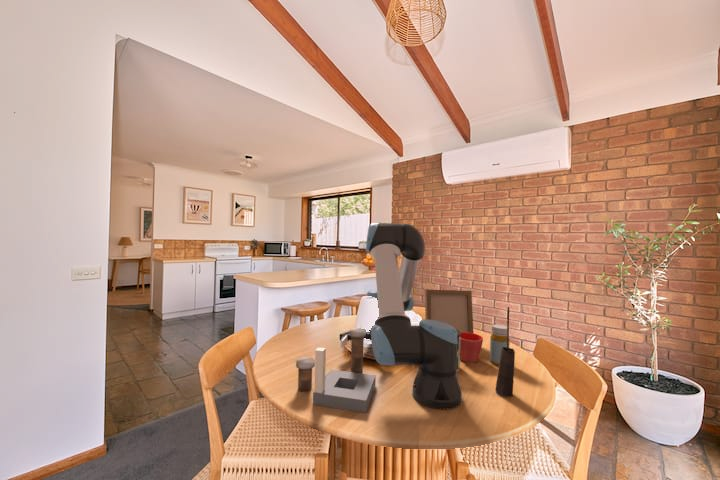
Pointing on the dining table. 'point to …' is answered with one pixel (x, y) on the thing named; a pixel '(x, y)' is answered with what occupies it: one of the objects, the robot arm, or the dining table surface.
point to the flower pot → (470, 347)
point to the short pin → (305, 373)
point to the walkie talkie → (506, 368)
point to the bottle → (497, 342)
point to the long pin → (357, 349)
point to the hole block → (341, 387)
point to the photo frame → (450, 308)
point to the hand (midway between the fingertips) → (359, 346)
